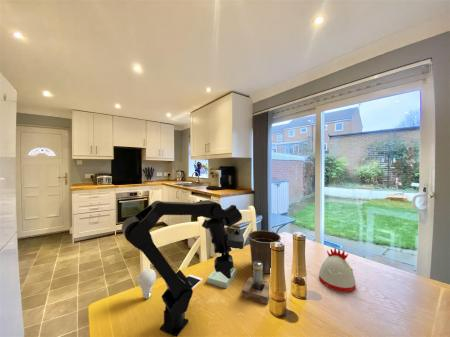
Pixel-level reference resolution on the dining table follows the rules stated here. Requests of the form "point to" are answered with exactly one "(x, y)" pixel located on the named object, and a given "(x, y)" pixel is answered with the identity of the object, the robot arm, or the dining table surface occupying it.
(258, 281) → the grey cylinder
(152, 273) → the light bulb
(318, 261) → the dining table surface
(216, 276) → the tray
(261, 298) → the socket block
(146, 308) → the dining table surface
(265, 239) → the plant pot
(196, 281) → the cell phone
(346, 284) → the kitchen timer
